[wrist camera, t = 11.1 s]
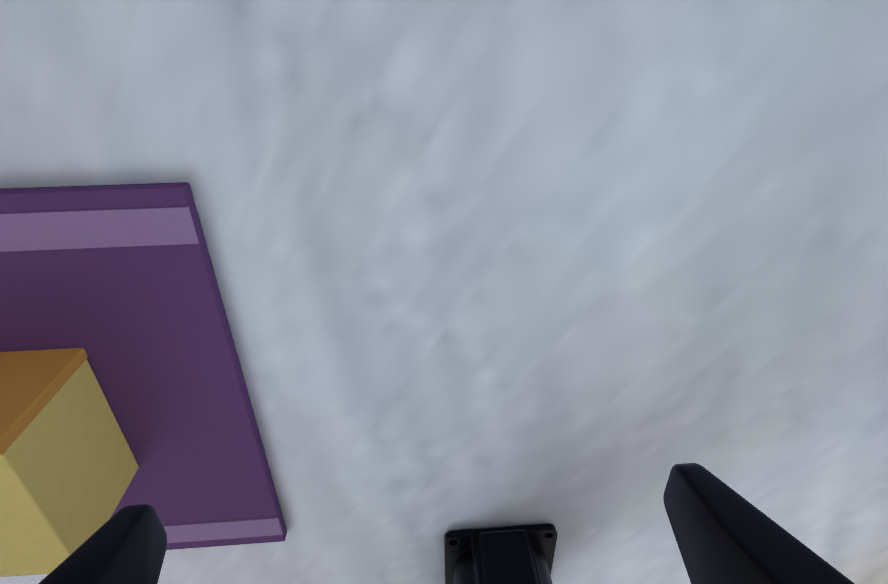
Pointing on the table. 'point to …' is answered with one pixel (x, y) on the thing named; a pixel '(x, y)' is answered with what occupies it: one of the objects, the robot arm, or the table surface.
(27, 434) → the cheese
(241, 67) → the table surface
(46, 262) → the towel
